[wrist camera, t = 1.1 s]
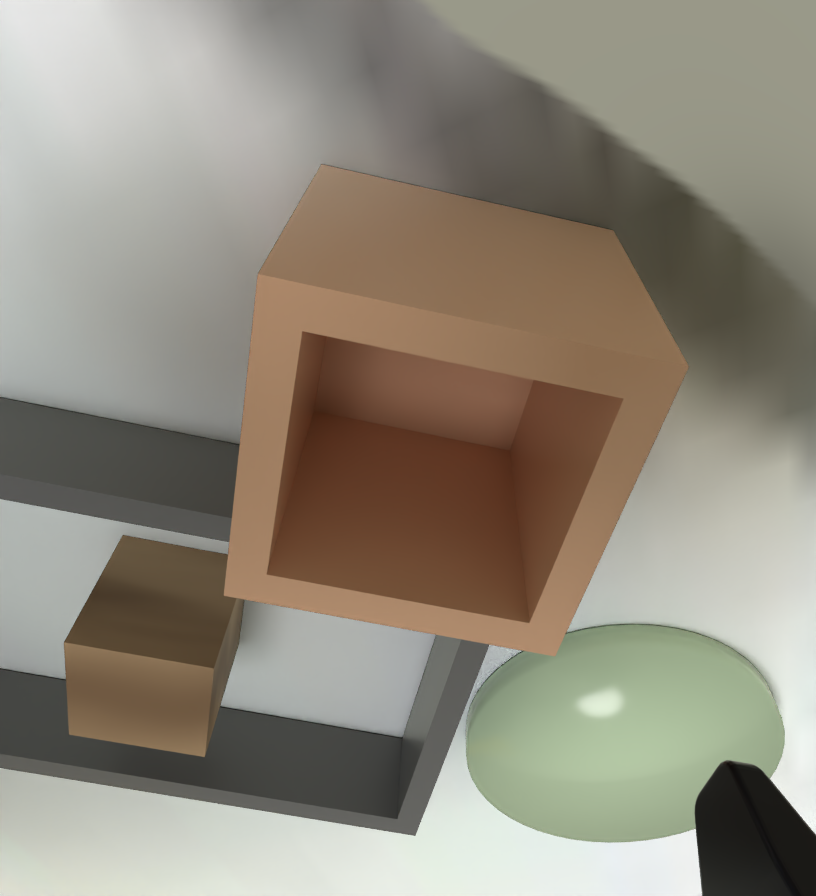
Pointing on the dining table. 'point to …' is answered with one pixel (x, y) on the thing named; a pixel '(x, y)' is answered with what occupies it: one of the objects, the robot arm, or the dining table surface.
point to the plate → (618, 731)
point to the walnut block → (153, 648)
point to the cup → (441, 412)
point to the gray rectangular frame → (235, 732)
